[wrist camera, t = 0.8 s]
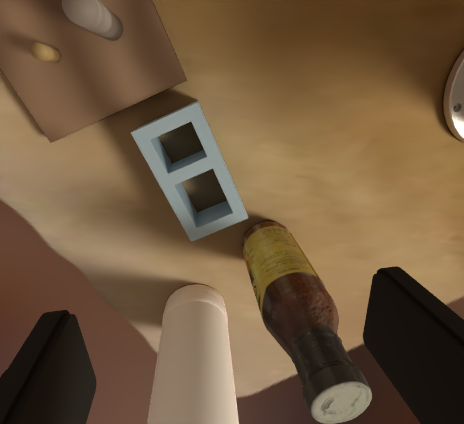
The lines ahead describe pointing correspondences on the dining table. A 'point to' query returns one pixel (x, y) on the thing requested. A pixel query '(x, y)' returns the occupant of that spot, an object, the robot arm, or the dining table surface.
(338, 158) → the dining table surface
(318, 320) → the sauce bottle
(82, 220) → the dining table surface
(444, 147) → the dining table surface
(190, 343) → the bottle
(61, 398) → the robot arm
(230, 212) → the hollow blue brick
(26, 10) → the post block
